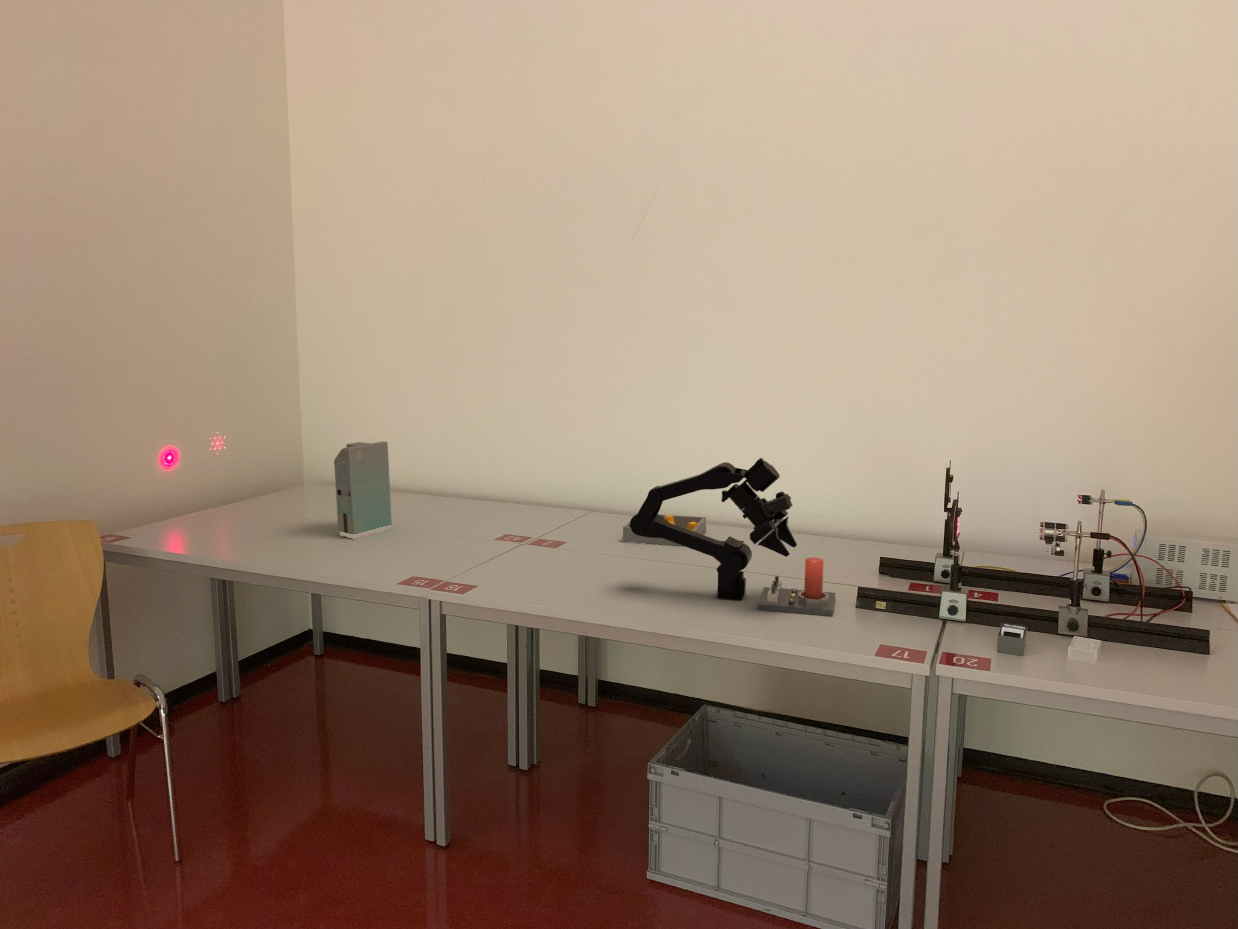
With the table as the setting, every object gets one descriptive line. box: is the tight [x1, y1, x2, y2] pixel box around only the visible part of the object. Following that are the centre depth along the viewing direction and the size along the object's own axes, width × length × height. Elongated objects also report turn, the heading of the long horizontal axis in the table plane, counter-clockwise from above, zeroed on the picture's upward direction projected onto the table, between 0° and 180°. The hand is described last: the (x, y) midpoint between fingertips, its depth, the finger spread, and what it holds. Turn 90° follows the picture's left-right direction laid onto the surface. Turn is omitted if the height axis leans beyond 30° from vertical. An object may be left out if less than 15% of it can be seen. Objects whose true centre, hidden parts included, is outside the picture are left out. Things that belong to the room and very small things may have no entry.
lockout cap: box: [803, 557, 824, 599], centre depth 221 cm, size 4×4×10 cm
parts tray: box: [622, 513, 707, 547], centre depth 290 cm, size 23×20×5 cm
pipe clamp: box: [664, 514, 698, 530], centre depth 288 cm, size 12×4×6 cm, turn 47°
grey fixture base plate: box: [756, 575, 836, 617], centre depth 223 cm, size 18×14×6 cm
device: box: [333, 441, 393, 534], centre depth 295 cm, size 16×8×30 cm, turn 148°
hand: (792, 550), depth 222 cm, fingers open, 9 cm apart
